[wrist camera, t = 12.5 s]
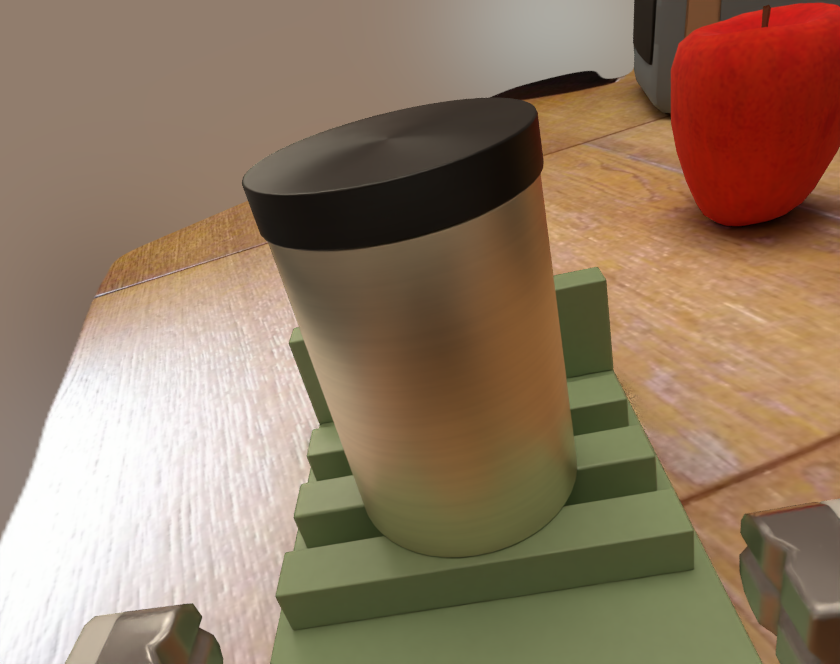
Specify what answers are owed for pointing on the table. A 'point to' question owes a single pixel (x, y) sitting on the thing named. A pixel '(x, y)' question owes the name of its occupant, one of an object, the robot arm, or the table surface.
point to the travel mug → (430, 316)
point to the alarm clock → (679, 35)
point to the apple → (757, 110)
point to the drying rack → (515, 551)
